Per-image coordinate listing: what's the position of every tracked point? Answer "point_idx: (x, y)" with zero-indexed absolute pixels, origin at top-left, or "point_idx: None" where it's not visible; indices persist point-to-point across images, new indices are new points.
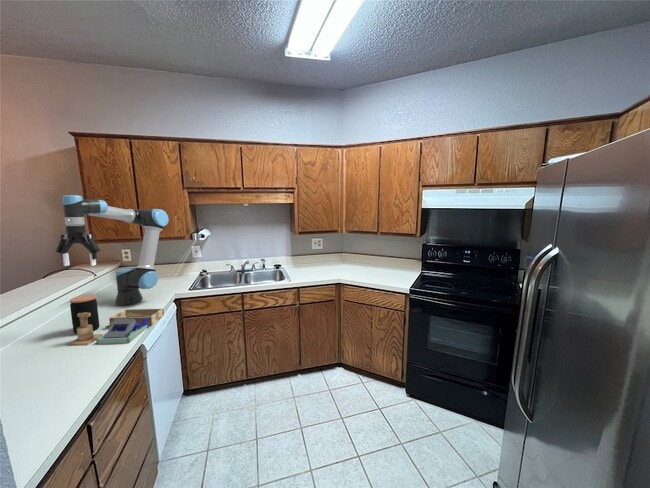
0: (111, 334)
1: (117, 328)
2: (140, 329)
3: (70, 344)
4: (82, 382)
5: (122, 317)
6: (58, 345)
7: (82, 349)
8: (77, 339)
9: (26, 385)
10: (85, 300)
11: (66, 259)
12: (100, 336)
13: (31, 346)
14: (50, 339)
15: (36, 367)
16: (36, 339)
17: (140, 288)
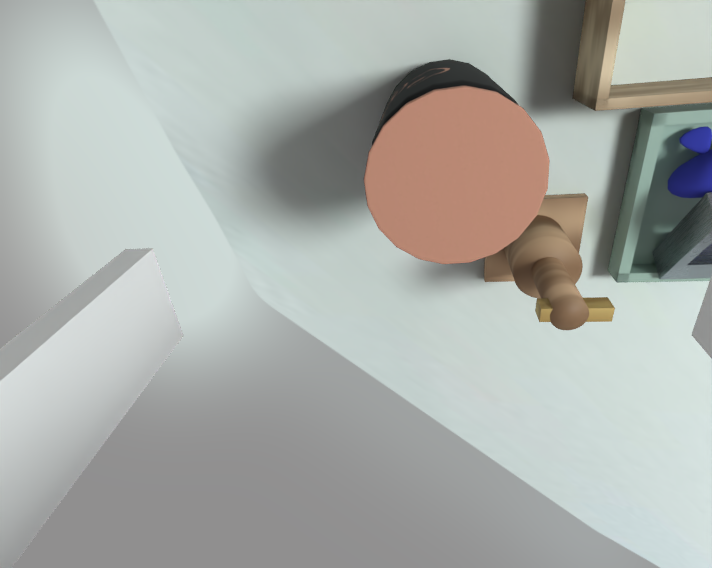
0: (695, 272)
1: (690, 197)
2: None
3: (492, 279)
4: (708, 468)
5: (691, 94)
6: (438, 276)
7: None
8: None
9: (553, 465)
10: (518, 235)
11: (94, 388)
12: (584, 208)
13: (332, 280)
14: (347, 224)
15: (500, 401)
16: (282, 223)
17: None
